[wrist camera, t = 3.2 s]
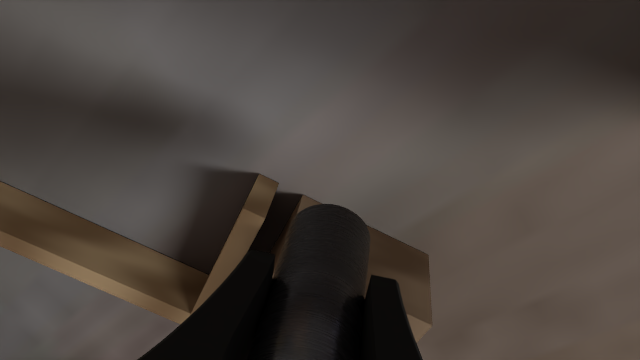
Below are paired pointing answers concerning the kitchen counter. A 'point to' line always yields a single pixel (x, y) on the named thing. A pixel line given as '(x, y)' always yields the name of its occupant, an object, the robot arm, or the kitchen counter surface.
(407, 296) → the walnut gauge block
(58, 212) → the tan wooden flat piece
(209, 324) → the robot arm
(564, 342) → the kitchen counter surface
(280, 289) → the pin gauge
